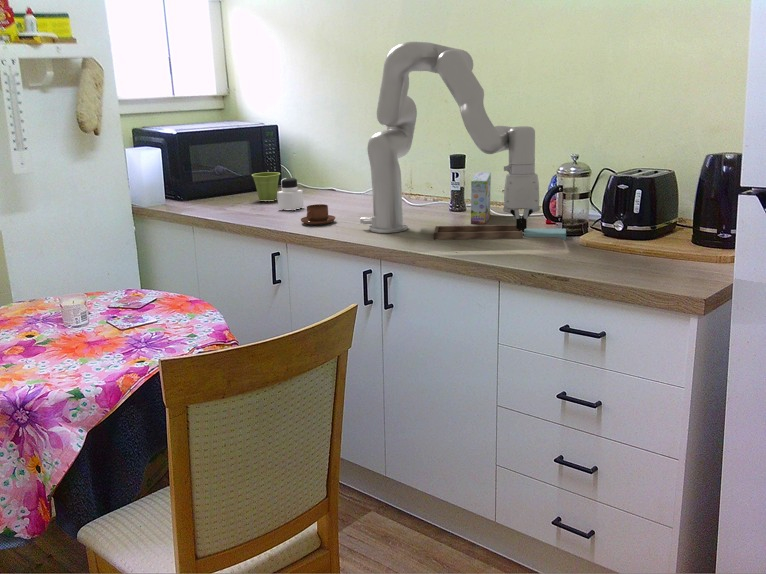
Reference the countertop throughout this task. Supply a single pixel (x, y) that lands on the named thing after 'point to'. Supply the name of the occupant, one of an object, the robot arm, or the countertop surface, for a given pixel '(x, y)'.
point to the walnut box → (477, 232)
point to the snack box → (480, 198)
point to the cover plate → (545, 233)
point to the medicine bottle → (290, 195)
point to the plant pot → (266, 185)
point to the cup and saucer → (317, 215)
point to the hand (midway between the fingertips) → (521, 231)
